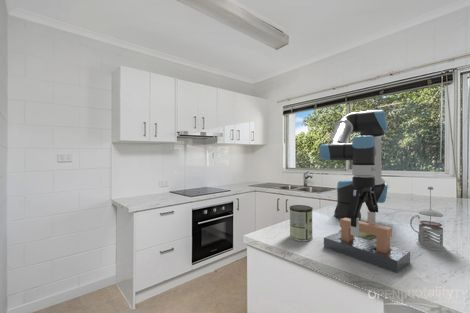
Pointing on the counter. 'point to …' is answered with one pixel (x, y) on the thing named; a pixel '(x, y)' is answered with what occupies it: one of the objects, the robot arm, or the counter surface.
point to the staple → (374, 229)
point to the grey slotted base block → (368, 252)
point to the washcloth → (364, 235)
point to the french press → (426, 240)
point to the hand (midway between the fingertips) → (363, 231)
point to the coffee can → (301, 222)
